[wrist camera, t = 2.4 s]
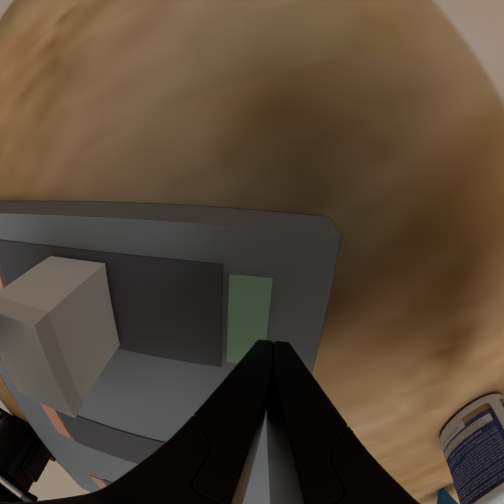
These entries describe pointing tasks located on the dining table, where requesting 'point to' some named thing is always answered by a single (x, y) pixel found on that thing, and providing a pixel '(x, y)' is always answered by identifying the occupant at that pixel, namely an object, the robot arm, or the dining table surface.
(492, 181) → the dining table surface
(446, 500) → the ornament
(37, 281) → the handle
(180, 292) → the breaker panel
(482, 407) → the pill bottle
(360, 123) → the dining table surface
